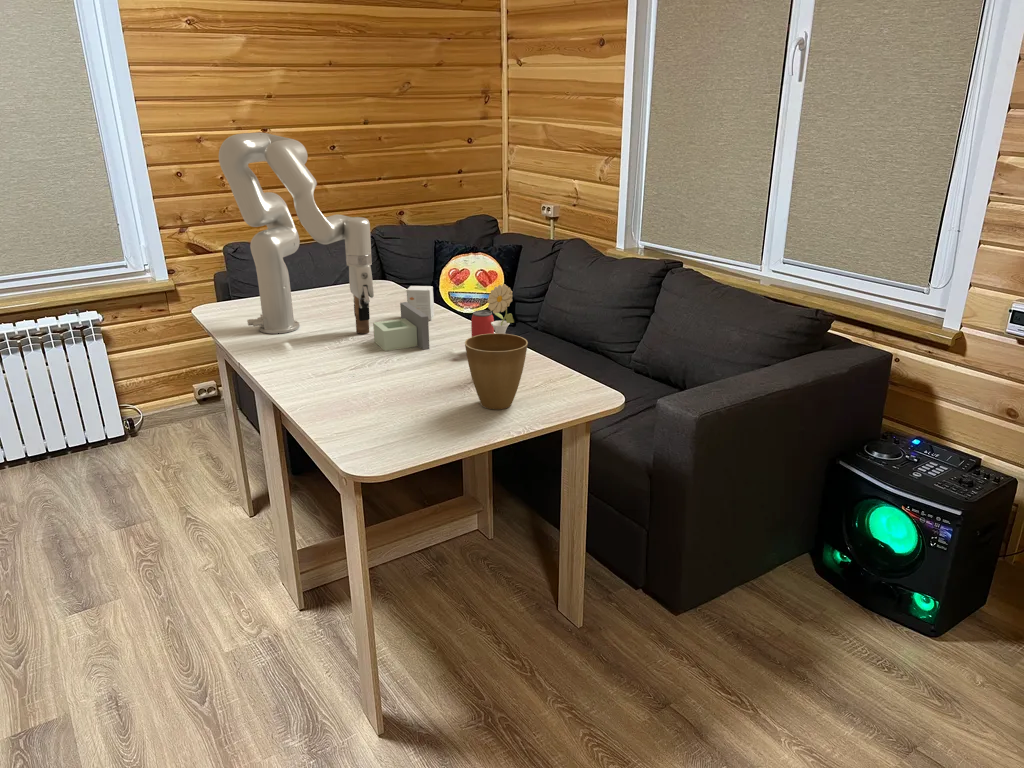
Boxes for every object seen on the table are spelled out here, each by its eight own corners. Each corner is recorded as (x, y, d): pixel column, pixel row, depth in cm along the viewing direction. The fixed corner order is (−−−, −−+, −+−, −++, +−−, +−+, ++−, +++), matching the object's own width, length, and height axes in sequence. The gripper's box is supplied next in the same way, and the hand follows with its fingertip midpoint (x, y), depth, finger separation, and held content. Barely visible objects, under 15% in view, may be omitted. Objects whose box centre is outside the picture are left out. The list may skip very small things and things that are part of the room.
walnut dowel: (358, 334, 231) (356, 296, 227) (354, 330, 234) (352, 293, 230) (371, 332, 233) (369, 294, 228) (367, 328, 236) (365, 291, 232)
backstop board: (356, 364, 210) (353, 326, 206) (338, 346, 225) (335, 310, 221) (429, 352, 219) (428, 316, 215) (408, 336, 234) (406, 301, 230)
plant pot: (535, 411, 178) (535, 348, 173) (474, 419, 174) (473, 354, 169) (517, 389, 192) (517, 330, 186) (460, 396, 188) (458, 335, 182)
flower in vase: (473, 367, 207) (471, 279, 198) (511, 362, 211) (511, 275, 202) (491, 383, 196) (490, 290, 187) (530, 377, 200) (531, 285, 191)
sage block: (385, 351, 217) (383, 331, 215) (374, 341, 225) (373, 322, 223) (417, 346, 221) (416, 326, 219) (405, 337, 230) (404, 318, 227)
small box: (434, 316, 255) (433, 285, 251) (431, 320, 250) (430, 290, 246) (411, 315, 256) (410, 285, 252) (407, 320, 251) (406, 289, 247)
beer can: (498, 351, 220) (498, 312, 215) (483, 357, 215) (482, 317, 211) (483, 347, 224) (482, 308, 220) (467, 352, 219) (466, 312, 215)
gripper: (379, 264, 220) (382, 323, 227) (362, 253, 234) (365, 309, 240) (354, 266, 217) (358, 326, 223) (339, 255, 230) (342, 312, 237)
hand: (362, 317), depth 232 cm, fingers closed on walnut dowel, 4 cm apart
